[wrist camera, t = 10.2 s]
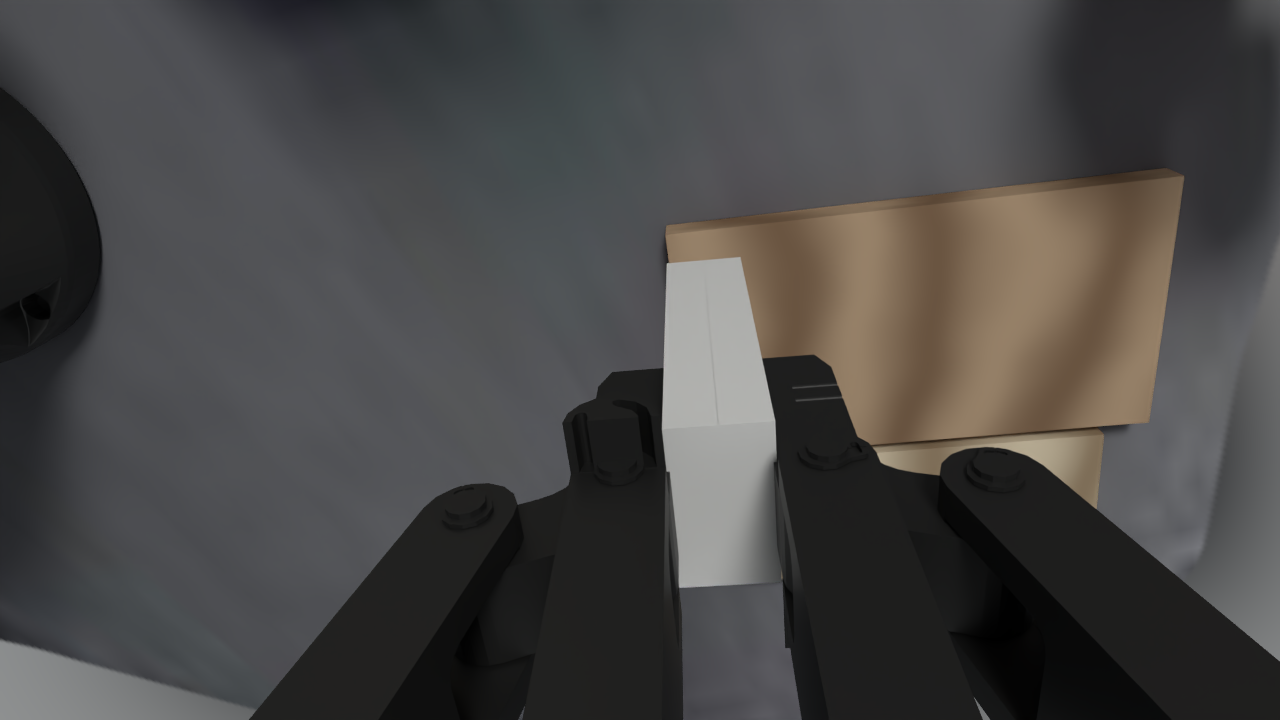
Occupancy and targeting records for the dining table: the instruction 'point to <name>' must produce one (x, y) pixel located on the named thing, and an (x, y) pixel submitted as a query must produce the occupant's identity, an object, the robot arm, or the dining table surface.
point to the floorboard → (967, 301)
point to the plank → (1057, 450)
